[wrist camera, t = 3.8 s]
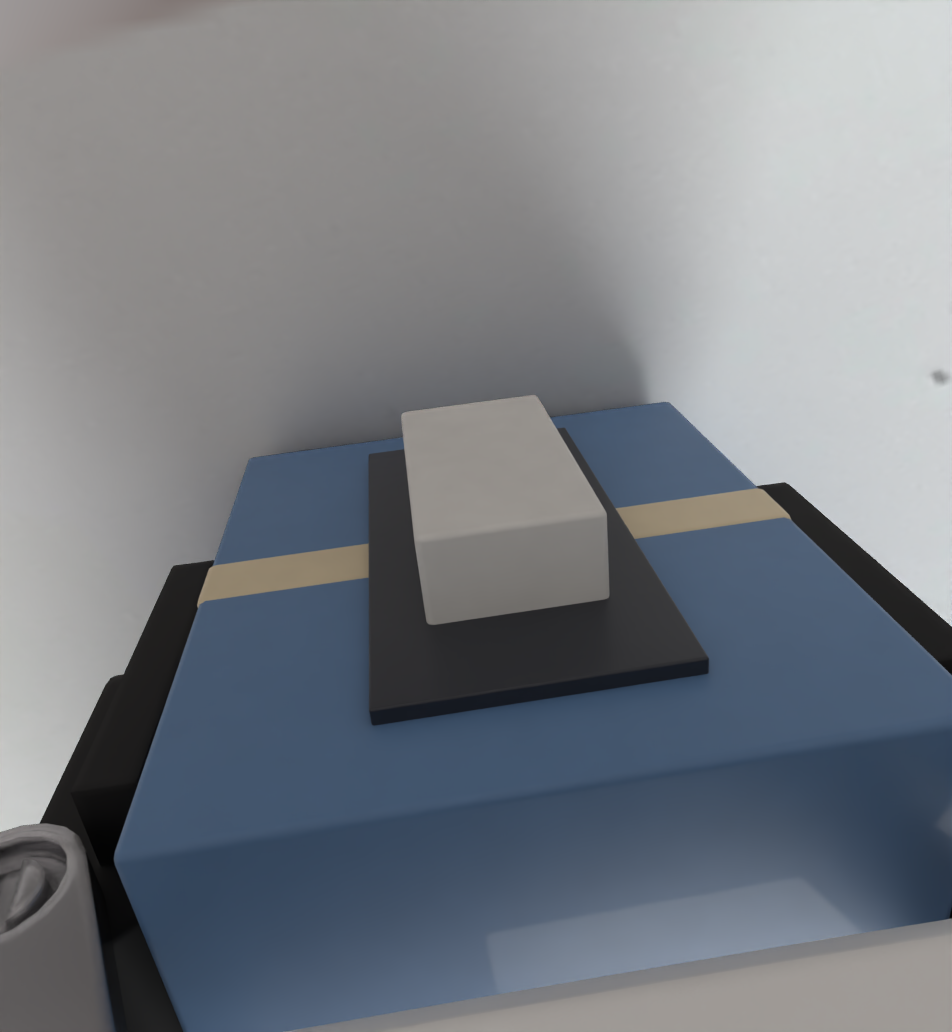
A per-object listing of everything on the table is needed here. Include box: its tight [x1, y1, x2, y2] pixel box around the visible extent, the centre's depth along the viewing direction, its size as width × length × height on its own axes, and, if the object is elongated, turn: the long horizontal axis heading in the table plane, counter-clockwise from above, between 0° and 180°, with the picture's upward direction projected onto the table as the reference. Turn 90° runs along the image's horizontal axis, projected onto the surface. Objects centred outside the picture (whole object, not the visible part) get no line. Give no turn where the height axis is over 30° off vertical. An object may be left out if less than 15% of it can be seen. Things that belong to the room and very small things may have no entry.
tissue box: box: [114, 395, 952, 1032], centre depth 11 cm, size 14×6×7 cm, turn 6°
